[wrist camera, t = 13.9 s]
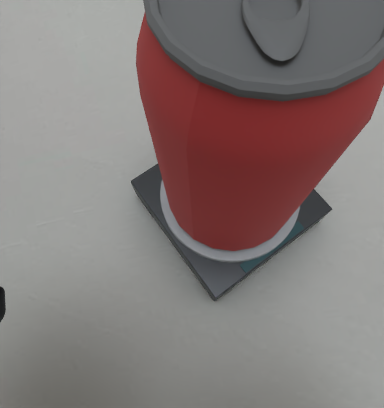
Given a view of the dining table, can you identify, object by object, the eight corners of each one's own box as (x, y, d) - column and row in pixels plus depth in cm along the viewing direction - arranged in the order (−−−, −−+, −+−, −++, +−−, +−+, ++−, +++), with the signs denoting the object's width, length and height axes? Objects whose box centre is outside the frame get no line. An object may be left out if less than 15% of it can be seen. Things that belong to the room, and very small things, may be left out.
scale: (320, 219, 20) (336, 205, 18) (214, 301, 19) (216, 298, 16) (236, 127, 23) (241, 104, 20) (136, 194, 21) (128, 177, 19)
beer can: (167, 254, 17) (104, 119, 6) (169, 141, 19) (125, -113, 8) (297, 252, 17) (484, 110, 6) (283, 138, 19) (400, -123, 8)
